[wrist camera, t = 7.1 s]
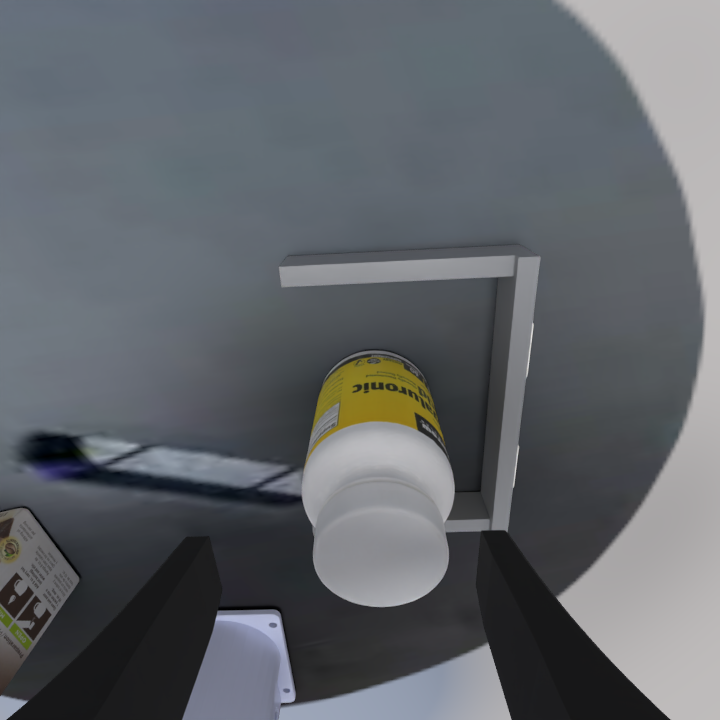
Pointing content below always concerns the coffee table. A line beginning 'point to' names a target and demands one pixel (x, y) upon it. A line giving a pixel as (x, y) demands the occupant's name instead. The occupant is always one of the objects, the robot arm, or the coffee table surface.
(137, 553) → the coffee table surface
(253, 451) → the coffee table surface
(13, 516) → the coffee box
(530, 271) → the rail
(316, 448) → the supplement bottle
